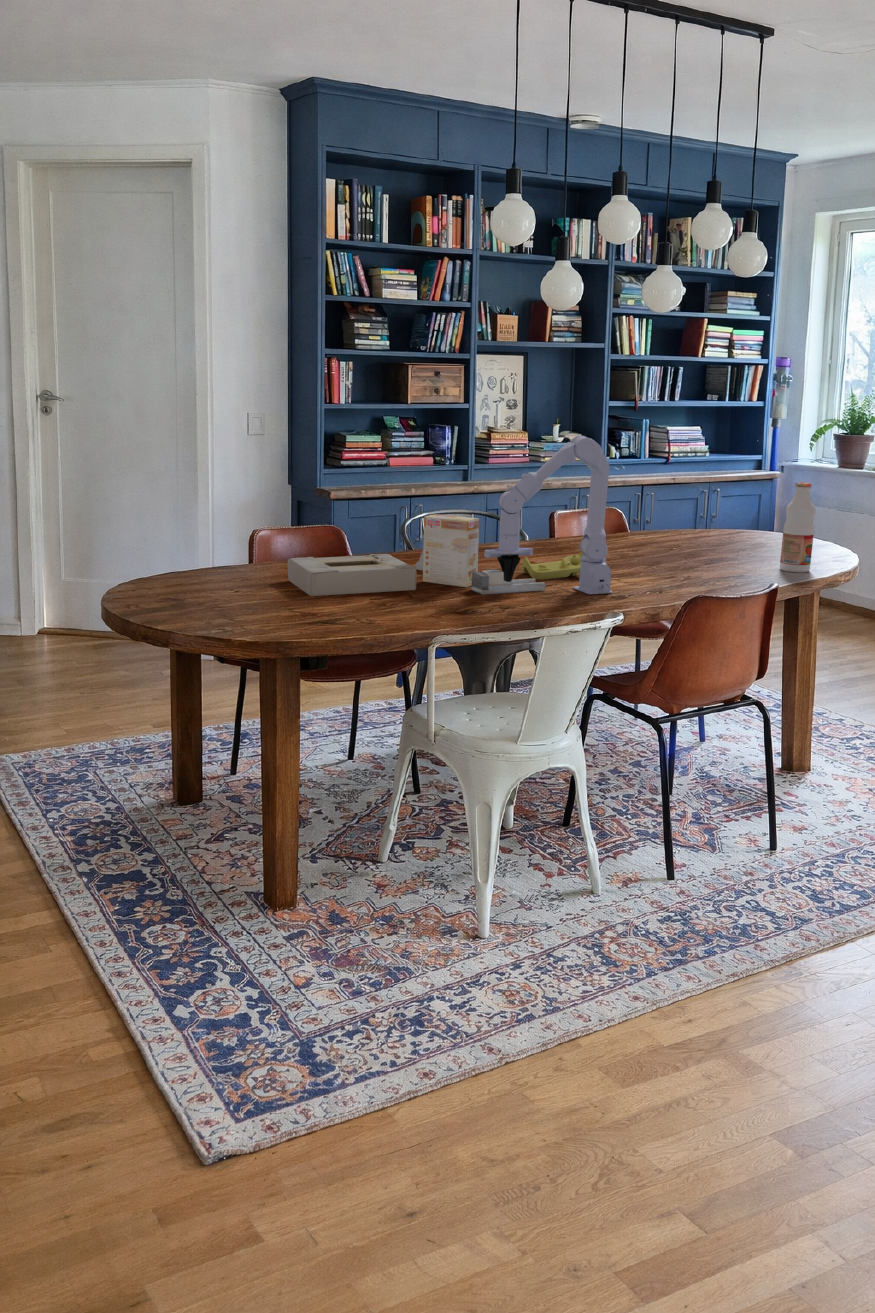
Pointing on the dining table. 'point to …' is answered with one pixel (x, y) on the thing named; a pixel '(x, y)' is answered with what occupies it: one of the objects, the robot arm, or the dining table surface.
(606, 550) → the robot arm
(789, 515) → the fruit juice
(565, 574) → the plastic component
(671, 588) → the dining table surface
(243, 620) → the dining table surface
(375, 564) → the box
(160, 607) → the dining table surface
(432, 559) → the coffeecake box
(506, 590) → the rail
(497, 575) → the block
